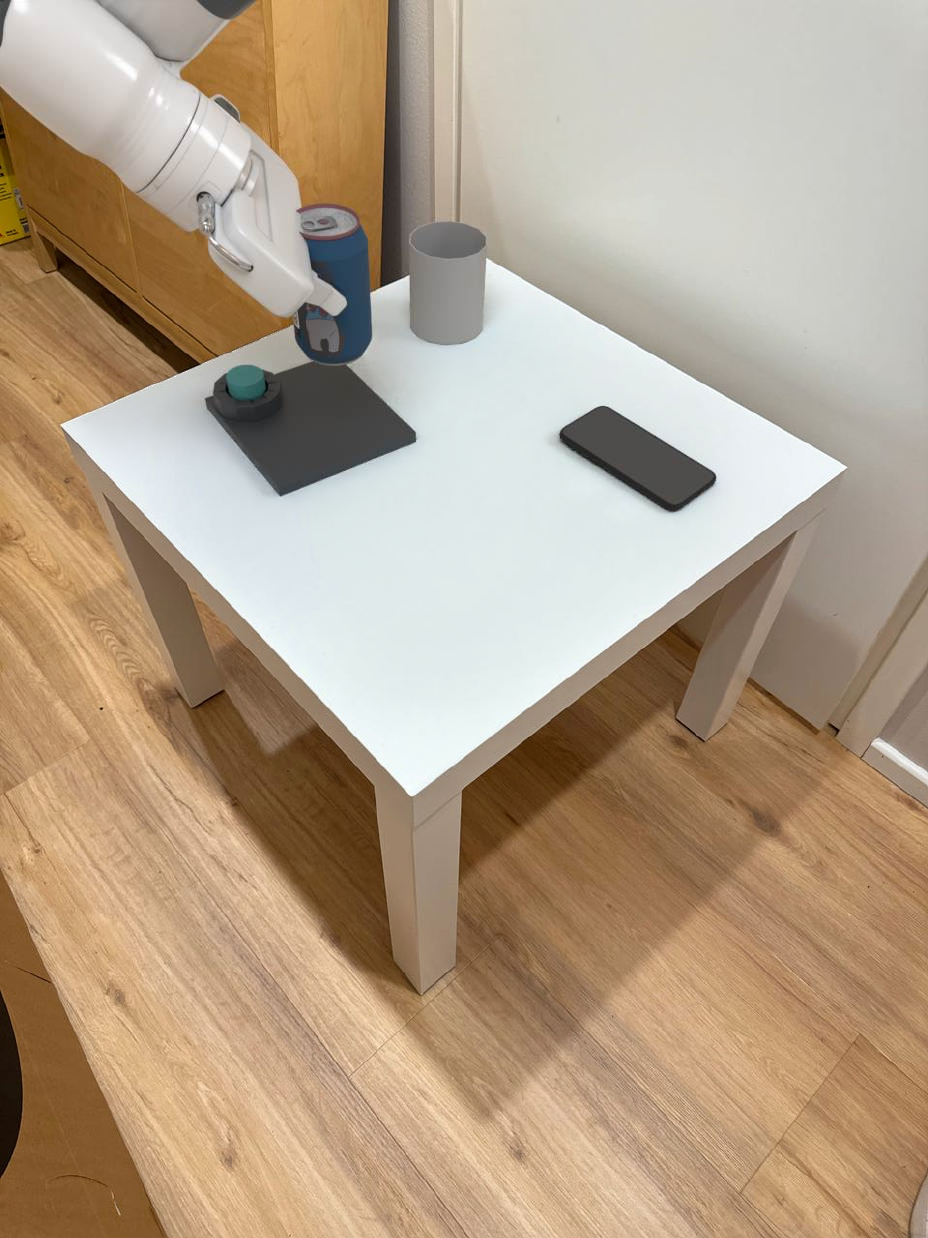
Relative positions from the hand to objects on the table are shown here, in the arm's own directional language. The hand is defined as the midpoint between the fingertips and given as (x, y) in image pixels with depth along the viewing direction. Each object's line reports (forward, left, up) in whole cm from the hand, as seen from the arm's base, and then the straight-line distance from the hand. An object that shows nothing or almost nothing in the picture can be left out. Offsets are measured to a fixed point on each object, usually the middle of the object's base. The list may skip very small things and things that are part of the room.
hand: (336, 280), depth 78 cm
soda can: (-1, 0, -7) cm, 7 cm away
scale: (-3, +3, -16) cm, 17 cm away
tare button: (-7, +8, -14) cm, 17 cm away
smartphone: (+21, -19, -16) cm, 33 cm away
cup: (+19, +11, -16) cm, 28 cm away
